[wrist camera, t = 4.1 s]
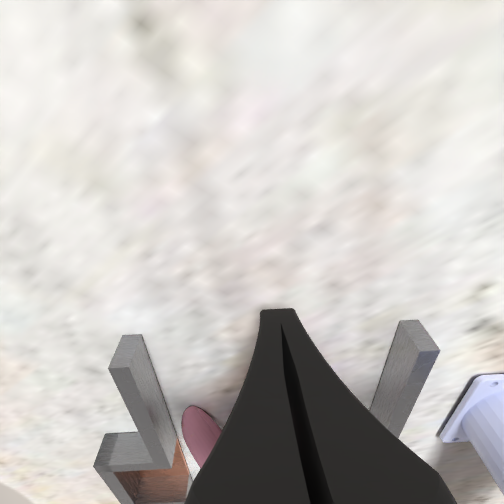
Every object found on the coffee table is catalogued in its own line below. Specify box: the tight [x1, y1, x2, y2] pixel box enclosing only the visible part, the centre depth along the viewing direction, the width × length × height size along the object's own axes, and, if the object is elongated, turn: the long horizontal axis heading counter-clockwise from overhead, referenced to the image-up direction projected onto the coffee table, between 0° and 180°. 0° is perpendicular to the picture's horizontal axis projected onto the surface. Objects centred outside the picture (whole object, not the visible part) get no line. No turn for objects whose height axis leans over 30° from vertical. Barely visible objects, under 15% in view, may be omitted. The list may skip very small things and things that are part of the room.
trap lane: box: [93, 320, 440, 504], centre depth 22 cm, size 24×28×3 cm
